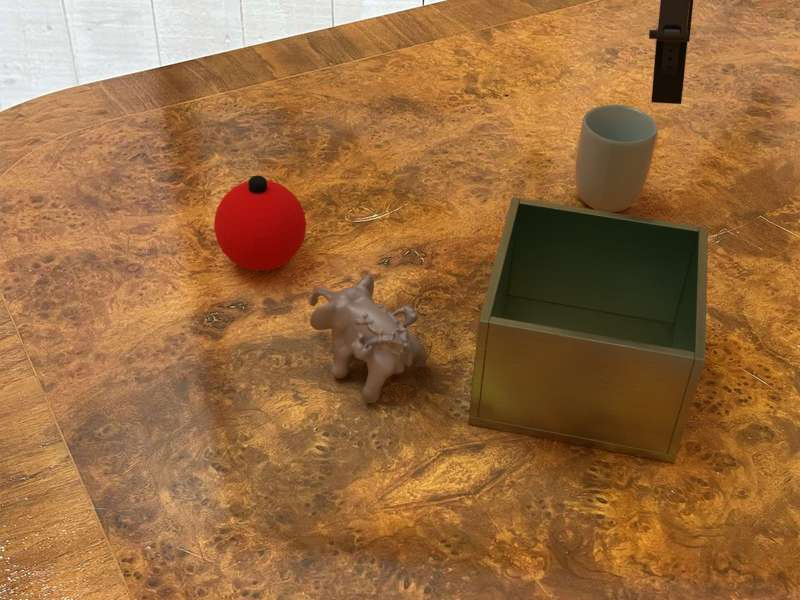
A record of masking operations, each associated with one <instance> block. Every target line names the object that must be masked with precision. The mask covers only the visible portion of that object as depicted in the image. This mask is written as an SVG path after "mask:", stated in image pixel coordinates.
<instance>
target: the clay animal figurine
mask: <svg viewBox="0 0 800 600" xmlns="http://www.w3.org/2000/svg"><path fill="white" fill-rule="evenodd" d="M374 290H375V281H374V278H373V276H372V274H371V273H368V275H367V276H366V277H364V278H363V279H361V280H360V281H358V282H357V284H356V285H354V286H348V287H345V288H342V289H340V290H338V291H333V290H330V289H328V288H325V287H323V286H320V285H317V286H316V287H315V288H314V289H313V291H312V294H311V295H310V296H309V299H308V304H309V305H310V306H311V307H315V306H317V304H318V303H319V297H321V296H322V297H323V298H325V299H326V300H327V303H326V304H323V305H320V306H318V307H317V308H315V309H314V311H313V312H312V313H311V315H310V318H309V323H310V326H311V328H312V329H314V330H315V331H326V330H330V329H331V340H332V341H331V342H332V357H333V361H332V365H331V367H330V374H331V376H332V377H333V378H334V379H344V378H345V377H347V376H348V374H349V371H350V368H351V365H352V363H353V361H354V360H355V358H356V359H357V360H360V361H363V362H365V363H366V366H367V377H366V381H365V384H364V386H363V388H362V391H361V397H362V399H363V400H364V401H365V402H366V403H368V404H375V403H376V402H378V401H379V398H380V396H381V395H380V394H381V390H382V388H383V387H384V384H385V382H386V381H387V379H388V378H389V377H391V376H392V375H395V374H397V375H398V374H403V373H404V371H405V367H407V368H410V367H412V365H414V366H415V367H418V368H421V367H424V366H425V365H426V363H427V360H428V359H427V358H428V352H427V349H426V348H425V346H424V345H423V344H422V343H421V342H420V341H419V340H418V339H417V338H416V337H414V336H413V335H412V334H411V333H409V332H408V327H409V326H412V325H413V324H415V323H416V322H417V321H418V320H419V313H418V312H417V311H416V310H415V309H414V308H413V307H411V306H410V305H404V306H402V307H400V308H398V309H396V310H395V311H394V312H390V311H389V310H388V309H387V308H386V307H384V306H383V304H378V303H376V302H375V300H374V298H373V294H374ZM400 314H402V315H404V320H403V322H402V321H401V320H398V319H397V318H396V317H397V316H398V315H400Z"/></svg>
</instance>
